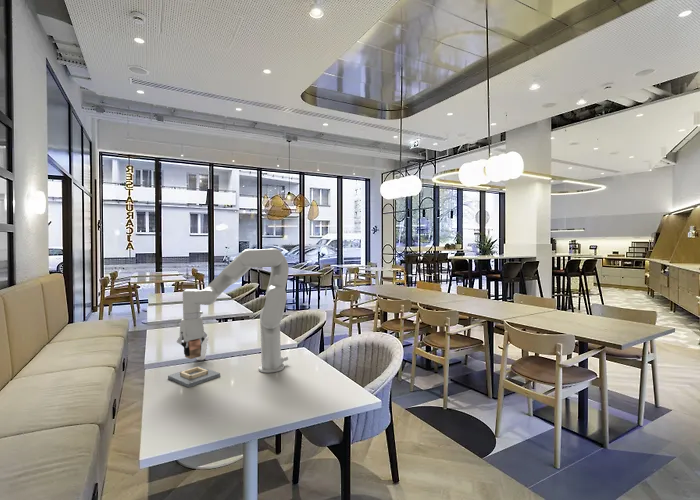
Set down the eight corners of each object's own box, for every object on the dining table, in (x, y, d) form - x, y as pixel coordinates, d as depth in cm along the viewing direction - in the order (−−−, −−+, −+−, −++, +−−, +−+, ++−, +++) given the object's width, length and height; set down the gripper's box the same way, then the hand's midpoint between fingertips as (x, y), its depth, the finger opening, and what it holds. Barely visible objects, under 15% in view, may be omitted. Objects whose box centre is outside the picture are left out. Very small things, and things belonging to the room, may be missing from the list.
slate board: (199, 368, 191) (199, 362, 191) (220, 376, 180) (220, 370, 180) (168, 378, 178) (167, 372, 178) (188, 387, 167) (187, 380, 167)
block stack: (195, 354, 182) (194, 337, 182) (200, 356, 179) (200, 339, 179) (185, 357, 178) (184, 340, 178) (190, 359, 175) (190, 341, 175)
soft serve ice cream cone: (189, 360, 204) (188, 331, 204) (200, 355, 212) (199, 327, 211) (201, 362, 201) (200, 332, 200) (212, 357, 209) (211, 328, 208)
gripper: (204, 311, 187) (205, 348, 187) (169, 317, 173) (171, 357, 174) (212, 313, 182) (213, 351, 183) (178, 319, 169) (179, 360, 169)
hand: (192, 353), depth 178 cm, fingers closed on block stack, 5 cm apart
